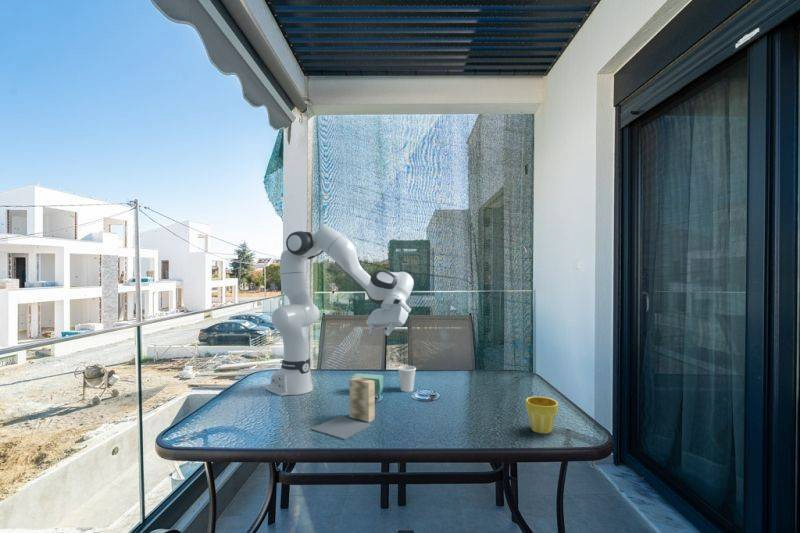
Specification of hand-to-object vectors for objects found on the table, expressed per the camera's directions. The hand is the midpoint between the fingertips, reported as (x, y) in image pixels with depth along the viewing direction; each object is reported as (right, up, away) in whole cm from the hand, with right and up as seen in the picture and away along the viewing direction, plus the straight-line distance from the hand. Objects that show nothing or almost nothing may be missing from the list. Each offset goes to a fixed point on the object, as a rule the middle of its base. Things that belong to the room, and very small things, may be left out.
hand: (378, 335), depth 161 cm
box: (-6, -29, +21) cm, 37 cm away
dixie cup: (+12, -29, +24) cm, 40 cm away
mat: (-12, -29, -19) cm, 36 cm away
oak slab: (-5, -29, -10) cm, 31 cm away
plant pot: (+57, -29, -22) cm, 67 cm away
